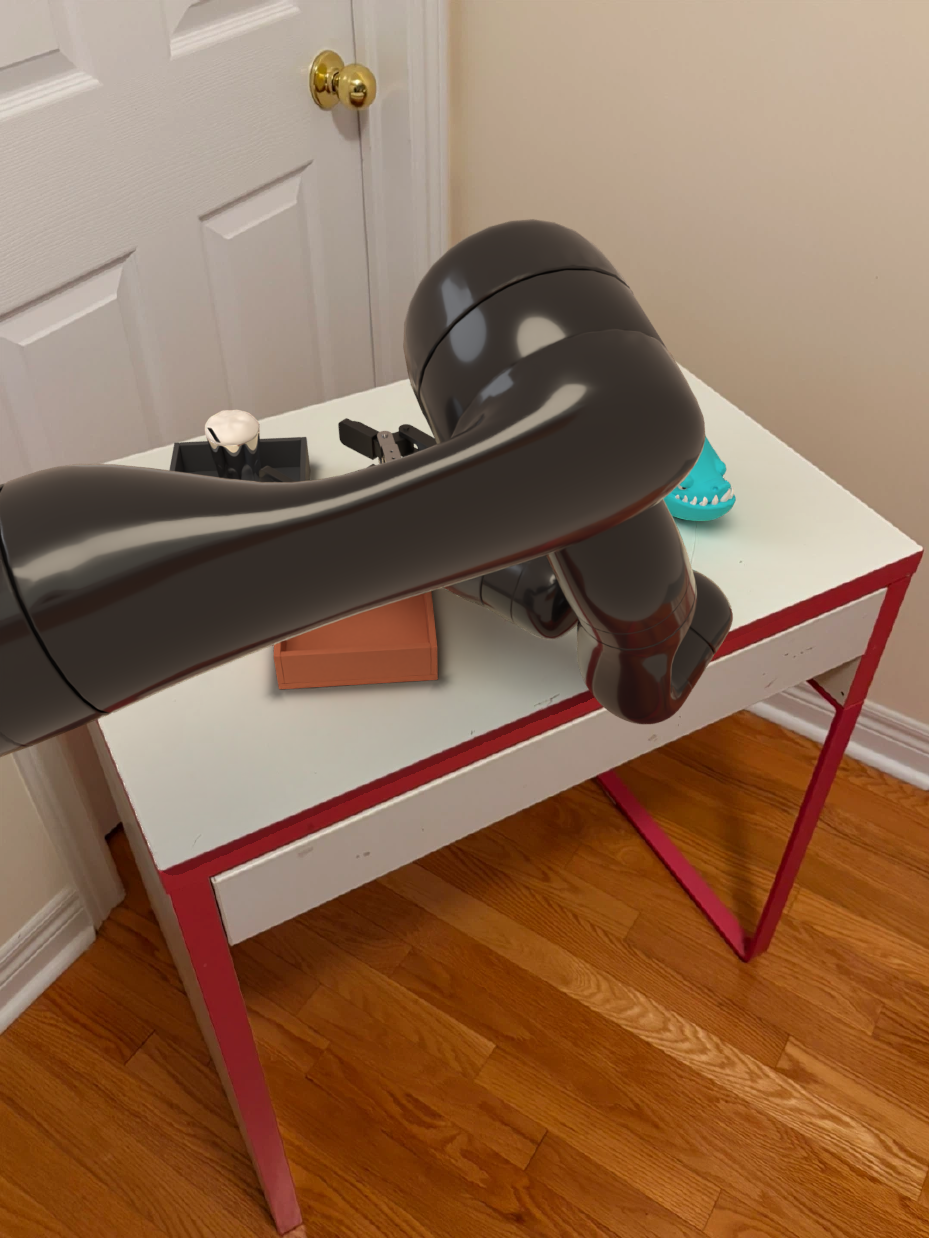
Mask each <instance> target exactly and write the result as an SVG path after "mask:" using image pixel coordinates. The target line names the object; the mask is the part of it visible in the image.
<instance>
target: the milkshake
mask: <svg viewBox="0 0 929 1238" xmlns="http://www.w3.org/2000/svg"><path fill="white" fill-rule="evenodd" d="M260 428H261V425H260V422H259V420H257V418H256V417H255V416H254V415H253V414H251V413H250V412H248V411H245V410H242V409H223V410H220V411H219V412H217V413H215V414H213V415H211V416H209V418H208V419H207V421H206V422H205V424H204V434H205V438H206V441H208V444H209V447H210V450H211V453H212V457H213V459H214V462H215V466H216V469H217V472H218V476H219V478H226V479H236V480H246V481H257V482H260V479H259V478H260V476H259V471H260V470H261V464H260V439H261V433H260V431H261V430H260Z"/></svg>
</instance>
